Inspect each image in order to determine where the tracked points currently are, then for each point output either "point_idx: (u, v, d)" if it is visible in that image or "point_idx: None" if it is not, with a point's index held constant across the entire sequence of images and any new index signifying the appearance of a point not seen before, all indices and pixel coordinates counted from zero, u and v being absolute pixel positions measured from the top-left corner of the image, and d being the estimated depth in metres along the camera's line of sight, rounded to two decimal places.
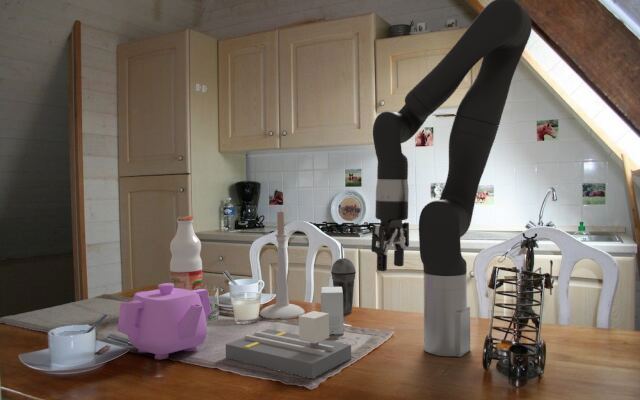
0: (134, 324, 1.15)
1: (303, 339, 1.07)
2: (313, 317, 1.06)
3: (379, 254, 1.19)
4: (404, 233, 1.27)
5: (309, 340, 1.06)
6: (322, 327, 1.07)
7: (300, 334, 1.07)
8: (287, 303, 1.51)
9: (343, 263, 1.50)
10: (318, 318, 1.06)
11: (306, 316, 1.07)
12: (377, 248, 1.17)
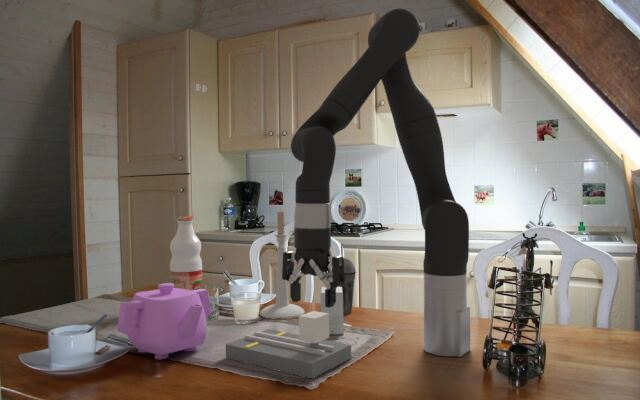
0: (134, 324, 1.15)
1: (303, 339, 1.07)
2: (313, 317, 1.06)
3: (334, 288, 1.05)
4: (292, 263, 1.12)
5: (309, 340, 1.06)
6: (322, 327, 1.07)
7: (300, 334, 1.07)
8: (287, 303, 1.51)
9: None
10: (318, 318, 1.06)
11: (306, 316, 1.07)
12: (341, 281, 1.04)
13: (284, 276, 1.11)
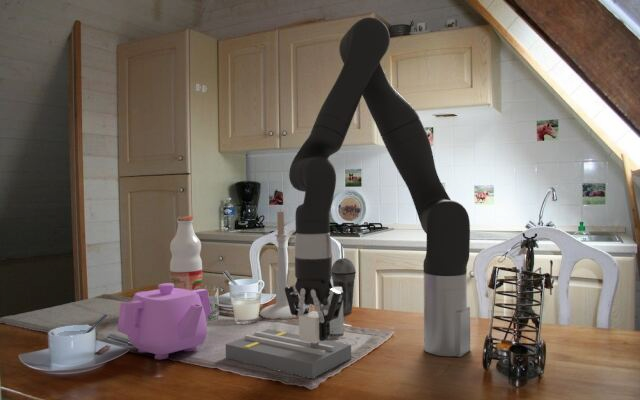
0: (134, 324, 1.15)
1: (303, 339, 1.07)
2: (313, 317, 1.06)
3: (328, 321, 1.06)
4: (296, 297, 1.11)
5: (309, 340, 1.06)
6: None
7: (300, 334, 1.07)
8: (287, 303, 1.51)
9: (343, 263, 1.50)
10: (318, 318, 1.06)
11: (306, 316, 1.07)
12: (334, 314, 1.06)
13: (292, 311, 1.10)
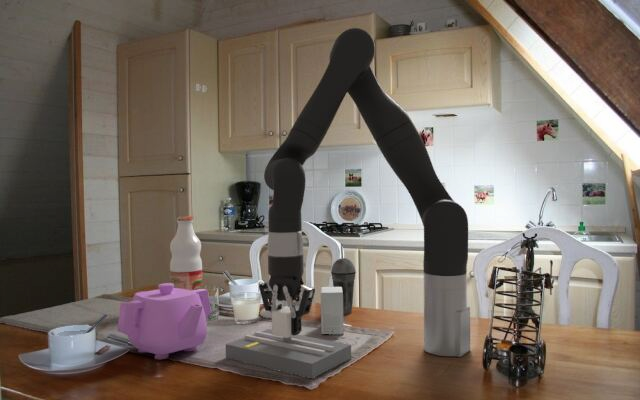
0: (134, 324, 1.15)
1: (276, 334, 1.11)
2: (285, 312, 1.10)
3: (300, 317, 1.10)
4: (270, 293, 1.16)
5: (281, 335, 1.10)
6: None
7: (273, 329, 1.11)
8: None
9: (343, 263, 1.50)
10: (290, 313, 1.10)
11: (279, 312, 1.11)
12: (306, 310, 1.10)
13: (266, 307, 1.14)
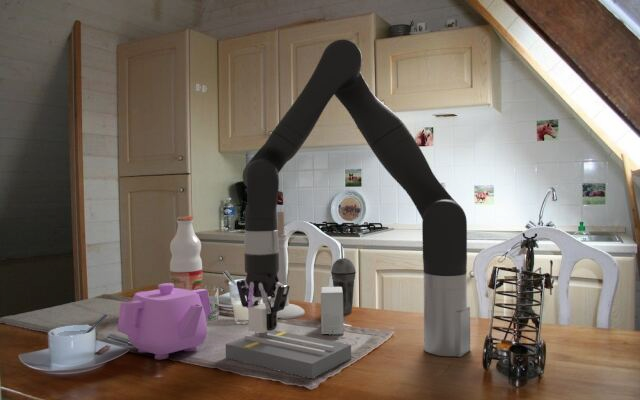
0: (134, 324, 1.15)
1: (252, 329, 1.15)
2: (261, 308, 1.14)
3: (275, 312, 1.14)
4: (247, 290, 1.19)
5: (257, 330, 1.14)
6: None
7: (249, 324, 1.15)
8: (287, 303, 1.51)
9: (343, 263, 1.50)
10: (265, 309, 1.14)
11: (255, 308, 1.15)
12: (280, 306, 1.14)
13: (243, 303, 1.18)
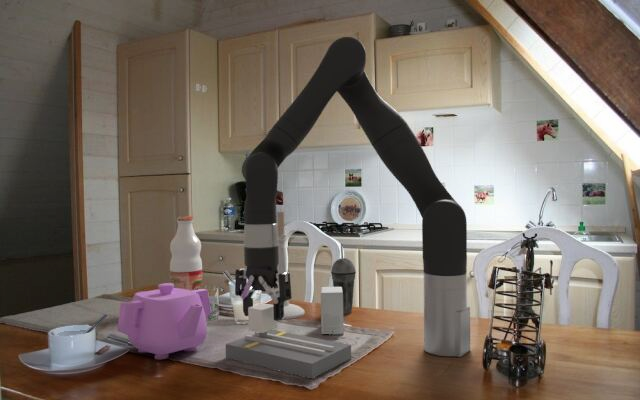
0: (134, 324, 1.15)
1: (252, 329, 1.15)
2: (261, 308, 1.14)
3: (282, 302, 1.13)
4: (244, 280, 1.20)
5: (257, 330, 1.14)
6: (269, 318, 1.15)
7: (249, 324, 1.15)
8: (287, 303, 1.51)
9: (343, 263, 1.50)
10: (265, 309, 1.14)
11: (255, 308, 1.15)
12: (288, 296, 1.12)
13: (237, 292, 1.19)
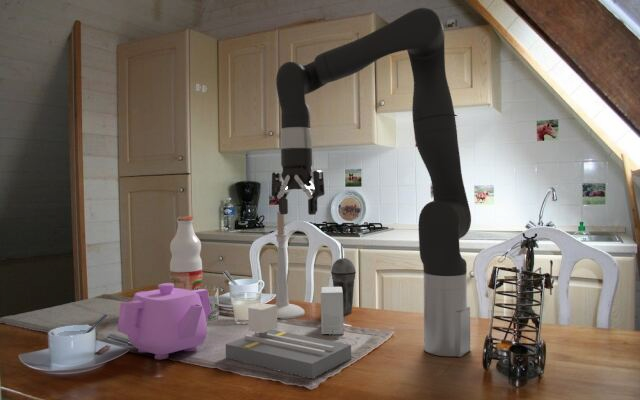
0: (134, 324, 1.15)
1: (252, 329, 1.15)
2: (261, 308, 1.14)
3: (316, 198, 1.25)
4: (280, 183, 1.32)
5: (257, 330, 1.14)
6: (269, 318, 1.15)
7: (249, 324, 1.15)
8: (287, 303, 1.51)
9: (343, 263, 1.50)
10: (265, 309, 1.14)
11: (255, 308, 1.15)
12: (321, 191, 1.24)
13: (273, 193, 1.31)
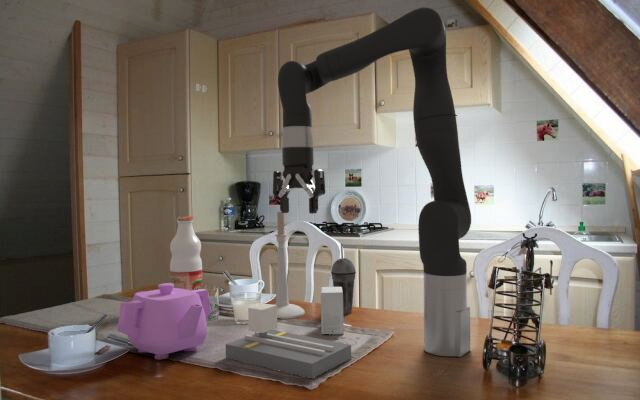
0: (134, 324, 1.15)
1: (252, 329, 1.15)
2: (261, 308, 1.14)
3: (317, 197, 1.25)
4: (281, 181, 1.32)
5: (257, 330, 1.14)
6: (269, 318, 1.15)
7: (249, 324, 1.15)
8: (287, 303, 1.51)
9: (343, 263, 1.50)
10: (265, 309, 1.14)
11: (255, 308, 1.15)
12: (322, 190, 1.25)
13: (274, 191, 1.31)
